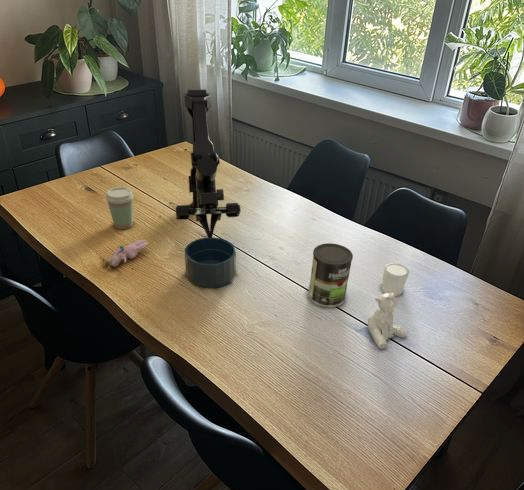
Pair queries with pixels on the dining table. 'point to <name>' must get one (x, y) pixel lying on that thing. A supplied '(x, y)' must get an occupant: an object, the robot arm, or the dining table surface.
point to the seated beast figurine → (384, 321)
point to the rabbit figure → (125, 253)
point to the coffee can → (329, 274)
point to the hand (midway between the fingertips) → (210, 239)
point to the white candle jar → (394, 278)
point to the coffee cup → (121, 206)
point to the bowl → (210, 262)
